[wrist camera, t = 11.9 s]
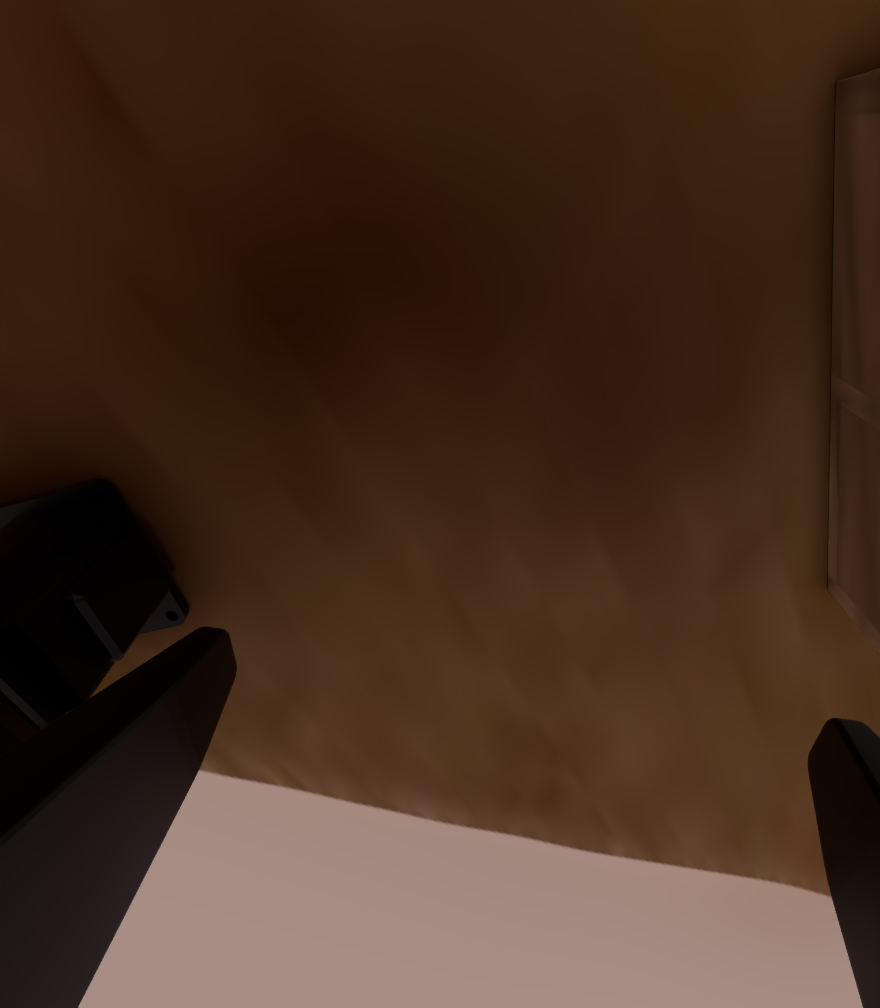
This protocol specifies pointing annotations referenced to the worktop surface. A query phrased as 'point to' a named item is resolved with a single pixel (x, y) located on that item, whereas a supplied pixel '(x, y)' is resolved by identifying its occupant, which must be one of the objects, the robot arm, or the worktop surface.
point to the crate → (856, 356)
